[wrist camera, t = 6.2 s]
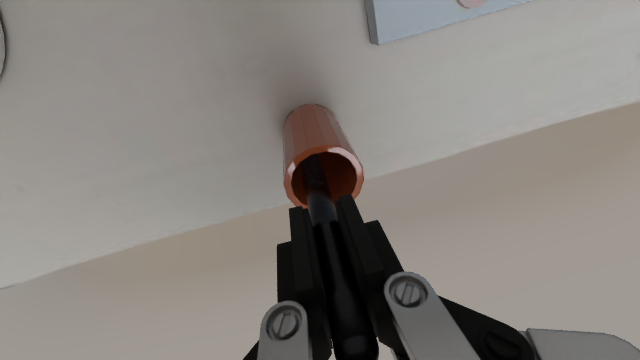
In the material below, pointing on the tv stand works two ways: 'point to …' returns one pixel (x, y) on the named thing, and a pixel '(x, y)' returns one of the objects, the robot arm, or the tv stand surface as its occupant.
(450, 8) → the electronic device
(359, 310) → the stylus
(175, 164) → the tv stand surface
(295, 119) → the pen cup
